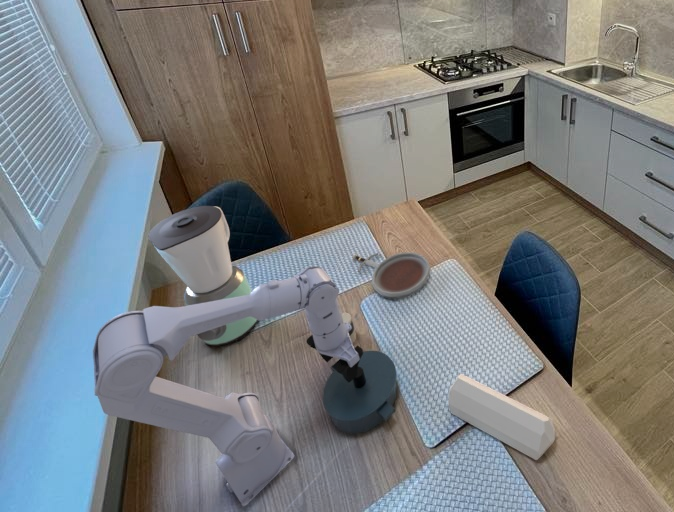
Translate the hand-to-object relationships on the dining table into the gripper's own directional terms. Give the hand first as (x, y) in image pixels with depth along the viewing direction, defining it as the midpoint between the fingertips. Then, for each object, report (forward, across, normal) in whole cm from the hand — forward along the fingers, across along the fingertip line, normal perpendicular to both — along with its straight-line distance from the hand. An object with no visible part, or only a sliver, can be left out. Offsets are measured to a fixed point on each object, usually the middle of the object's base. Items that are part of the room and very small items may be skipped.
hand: (341, 367), depth 84 cm
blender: (+11, +42, +6) cm, 44 cm away
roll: (+10, +13, -8) cm, 19 cm away
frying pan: (+11, +23, -29) cm, 39 cm away
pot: (+10, -3, -2) cm, 11 cm away
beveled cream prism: (+11, -30, -15) cm, 35 cm away
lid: (+5, -3, -2) cm, 6 cm away
